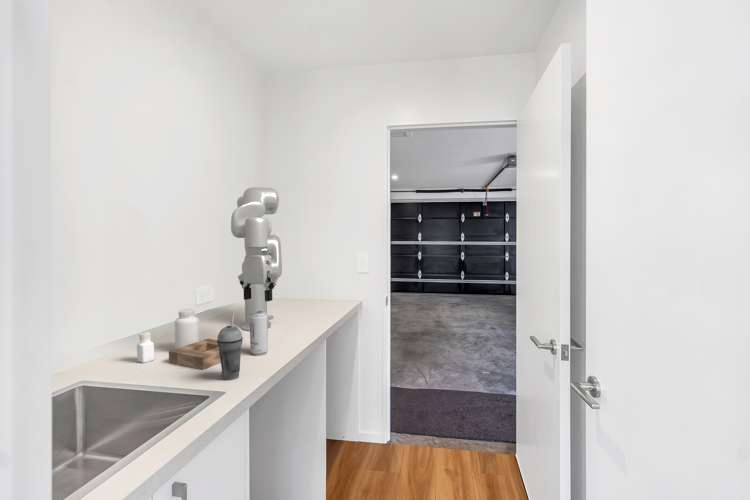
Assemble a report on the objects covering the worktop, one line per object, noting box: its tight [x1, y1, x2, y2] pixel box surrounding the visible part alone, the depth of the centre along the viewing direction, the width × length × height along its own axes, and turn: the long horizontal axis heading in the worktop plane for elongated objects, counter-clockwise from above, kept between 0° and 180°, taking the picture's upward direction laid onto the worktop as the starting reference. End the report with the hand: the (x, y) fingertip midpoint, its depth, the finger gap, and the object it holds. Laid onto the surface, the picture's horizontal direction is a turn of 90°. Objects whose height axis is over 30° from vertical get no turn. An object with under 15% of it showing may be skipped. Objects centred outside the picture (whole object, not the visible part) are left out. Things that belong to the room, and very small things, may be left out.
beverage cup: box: [216, 310, 244, 381], centre depth 114 cm, size 7×7×20 cm
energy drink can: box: [249, 311, 269, 356], centre depth 136 cm, size 6×6×15 cm
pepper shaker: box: [136, 331, 155, 364], centre depth 129 cm, size 4×4×10 cm
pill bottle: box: [174, 308, 200, 349], centre depth 141 cm, size 8×8×15 cm
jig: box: [168, 338, 221, 371], centre depth 131 cm, size 16×16×4 cm
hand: (258, 300), depth 136 cm, fingers open, 9 cm apart
